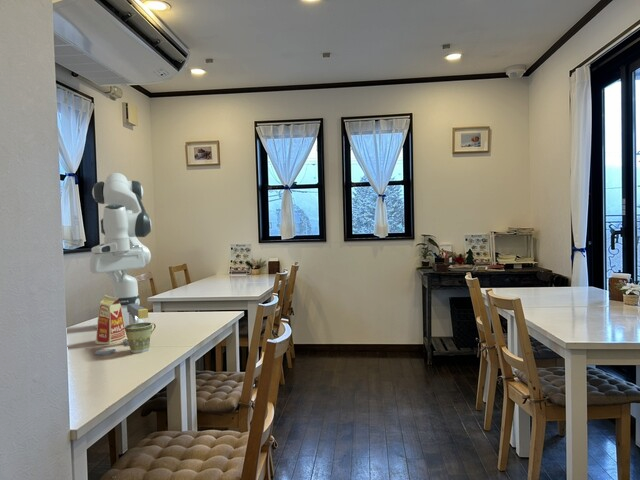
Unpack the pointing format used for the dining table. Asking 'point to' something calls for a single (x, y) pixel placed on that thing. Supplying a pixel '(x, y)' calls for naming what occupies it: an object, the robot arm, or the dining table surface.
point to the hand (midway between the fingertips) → (119, 282)
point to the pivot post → (132, 320)
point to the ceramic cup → (139, 336)
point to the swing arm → (137, 310)
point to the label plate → (105, 351)
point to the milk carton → (110, 322)
